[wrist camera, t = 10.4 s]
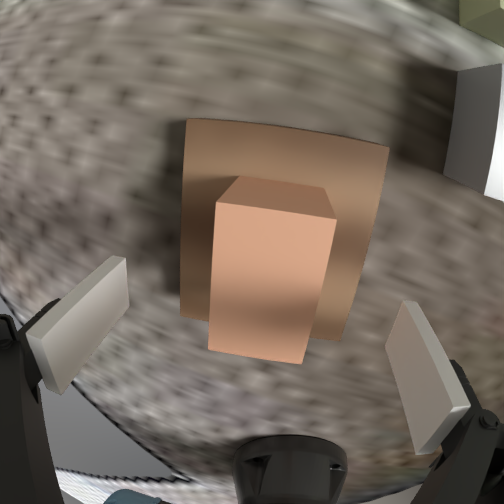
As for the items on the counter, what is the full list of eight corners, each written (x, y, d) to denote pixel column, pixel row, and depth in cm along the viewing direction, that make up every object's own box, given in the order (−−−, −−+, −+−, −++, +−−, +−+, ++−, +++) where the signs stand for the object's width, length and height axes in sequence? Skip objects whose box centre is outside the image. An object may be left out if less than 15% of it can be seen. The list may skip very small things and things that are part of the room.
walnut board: (336, 318, 25) (339, 341, 22) (191, 295, 26) (180, 315, 23) (377, 143, 19) (389, 147, 17) (200, 118, 20) (186, 118, 17)
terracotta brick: (301, 303, 21) (301, 364, 16) (229, 292, 22) (208, 349, 16) (324, 188, 18) (336, 219, 13) (239, 175, 18) (215, 202, 13)
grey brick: (491, 189, 19) (535, 213, 14) (442, 174, 19) (483, 194, 14) (506, 94, 16) (554, 96, 10) (457, 71, 16) (502, 63, 11)
